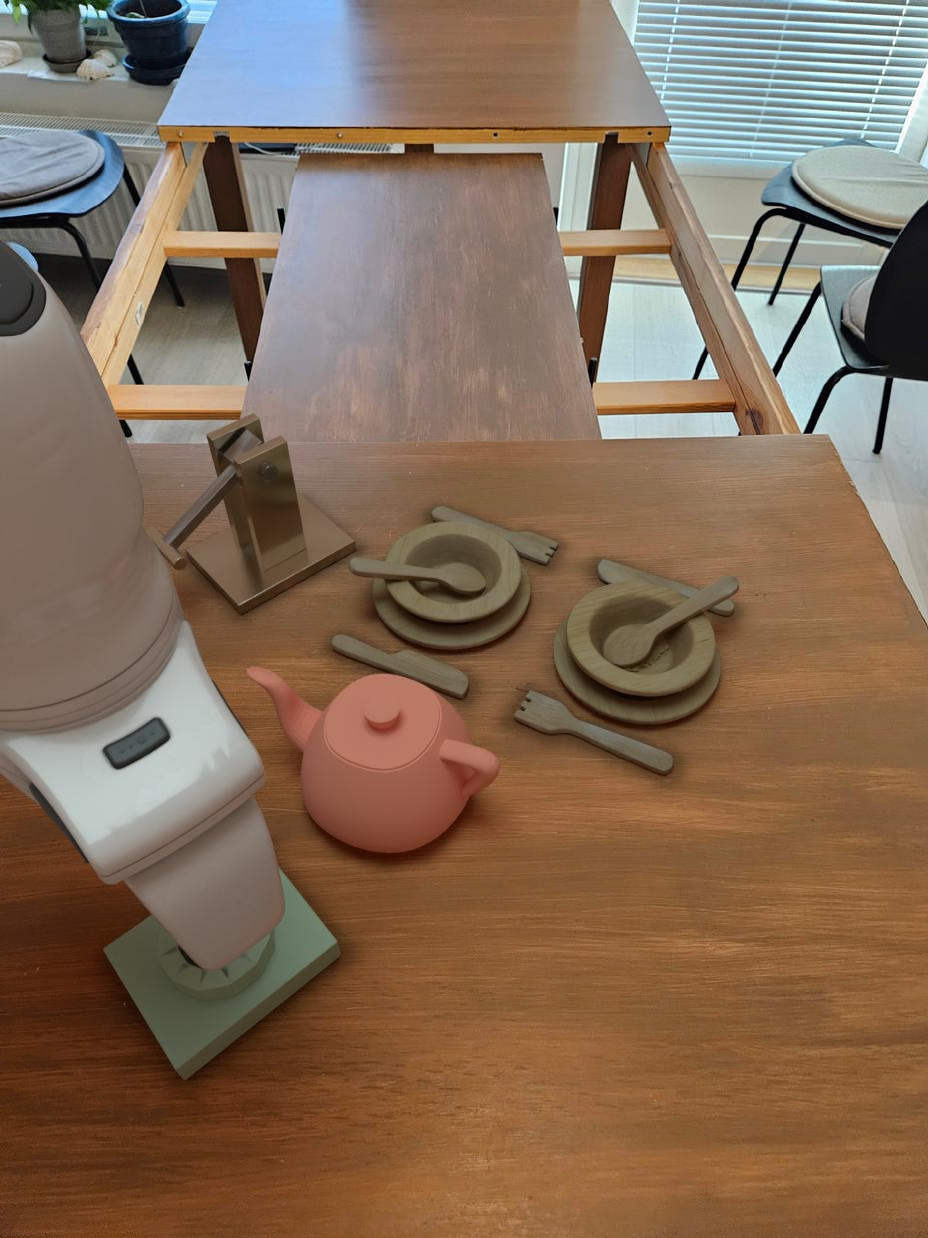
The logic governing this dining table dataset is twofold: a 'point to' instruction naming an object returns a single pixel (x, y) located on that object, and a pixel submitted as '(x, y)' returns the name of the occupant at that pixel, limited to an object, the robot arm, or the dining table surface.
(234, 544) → the metal lever stand
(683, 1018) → the dining table surface
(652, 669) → the tableware set
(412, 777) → the teapot
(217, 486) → the lever
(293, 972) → the button box
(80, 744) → the robot arm
